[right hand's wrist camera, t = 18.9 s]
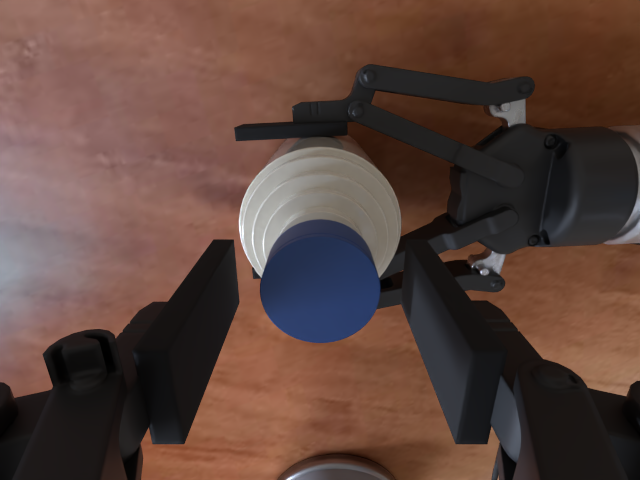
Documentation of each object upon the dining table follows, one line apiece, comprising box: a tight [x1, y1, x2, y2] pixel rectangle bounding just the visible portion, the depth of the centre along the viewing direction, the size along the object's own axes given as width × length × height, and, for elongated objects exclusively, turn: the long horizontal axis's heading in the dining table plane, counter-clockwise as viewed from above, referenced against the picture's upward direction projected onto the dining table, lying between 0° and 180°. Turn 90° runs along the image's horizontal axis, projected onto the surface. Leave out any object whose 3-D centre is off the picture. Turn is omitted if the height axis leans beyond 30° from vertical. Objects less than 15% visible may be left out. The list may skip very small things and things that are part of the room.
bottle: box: [239, 135, 401, 278], centre depth 22 cm, size 8×8×18 cm
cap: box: [260, 219, 381, 343], centre depth 14 cm, size 4×4×2 cm
